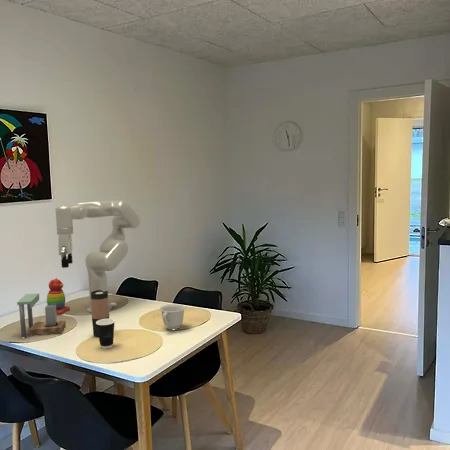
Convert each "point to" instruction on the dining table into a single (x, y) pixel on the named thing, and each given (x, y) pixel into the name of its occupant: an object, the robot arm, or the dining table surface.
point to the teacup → (172, 315)
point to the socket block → (47, 328)
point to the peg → (51, 315)
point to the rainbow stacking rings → (57, 296)
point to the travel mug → (99, 308)
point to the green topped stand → (30, 301)
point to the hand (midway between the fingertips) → (67, 265)
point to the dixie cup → (106, 332)
